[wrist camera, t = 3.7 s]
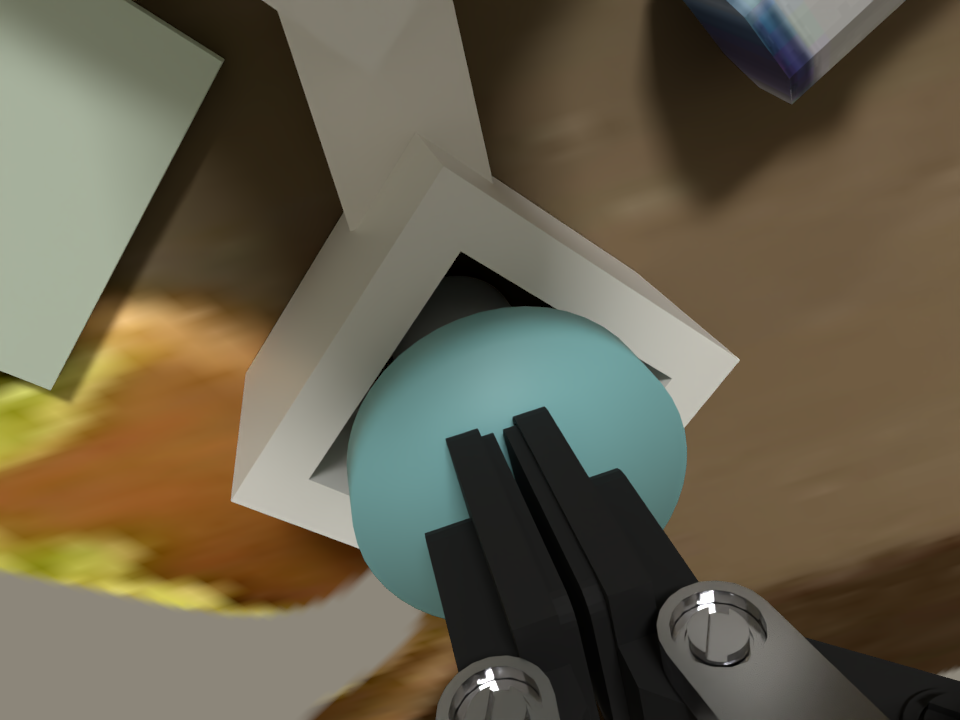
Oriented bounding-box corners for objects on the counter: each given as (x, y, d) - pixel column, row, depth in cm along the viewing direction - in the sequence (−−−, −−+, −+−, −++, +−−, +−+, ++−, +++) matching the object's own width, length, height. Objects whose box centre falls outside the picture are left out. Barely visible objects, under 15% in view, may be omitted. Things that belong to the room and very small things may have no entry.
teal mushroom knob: (612, 294, 18) (750, 429, 12) (482, 469, 19) (556, 657, 14) (418, 170, 16) (485, 270, 10) (287, 379, 17) (284, 565, 12)
